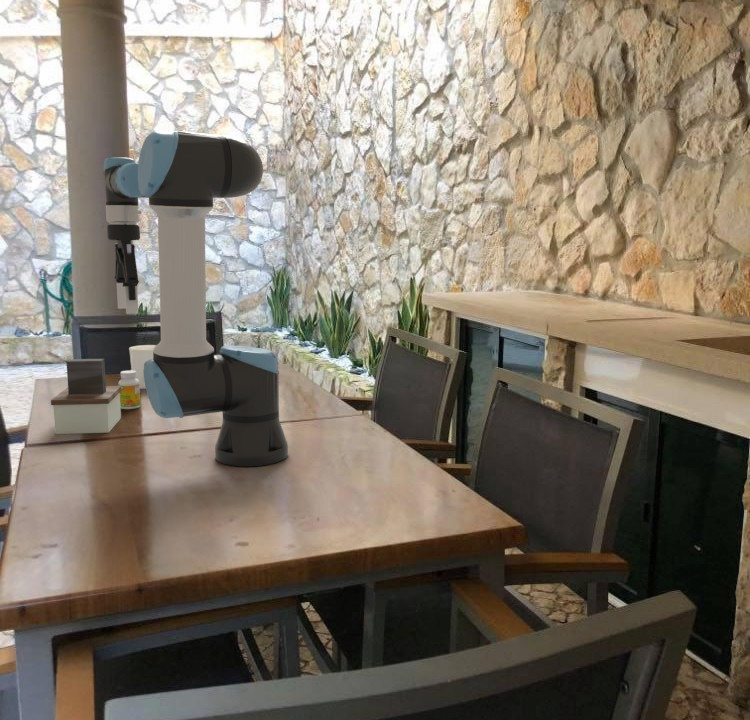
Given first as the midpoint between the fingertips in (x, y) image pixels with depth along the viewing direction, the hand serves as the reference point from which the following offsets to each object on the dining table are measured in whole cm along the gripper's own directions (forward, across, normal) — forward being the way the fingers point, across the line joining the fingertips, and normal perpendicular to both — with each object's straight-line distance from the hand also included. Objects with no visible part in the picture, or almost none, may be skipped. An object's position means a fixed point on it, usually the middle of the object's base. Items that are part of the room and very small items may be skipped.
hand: (127, 311), depth 185 cm
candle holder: (+28, +39, -10) cm, 49 cm away
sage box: (+27, -3, +11) cm, 29 cm away
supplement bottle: (+27, +13, -1) cm, 30 cm away
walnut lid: (+20, -3, +11) cm, 23 cm away
